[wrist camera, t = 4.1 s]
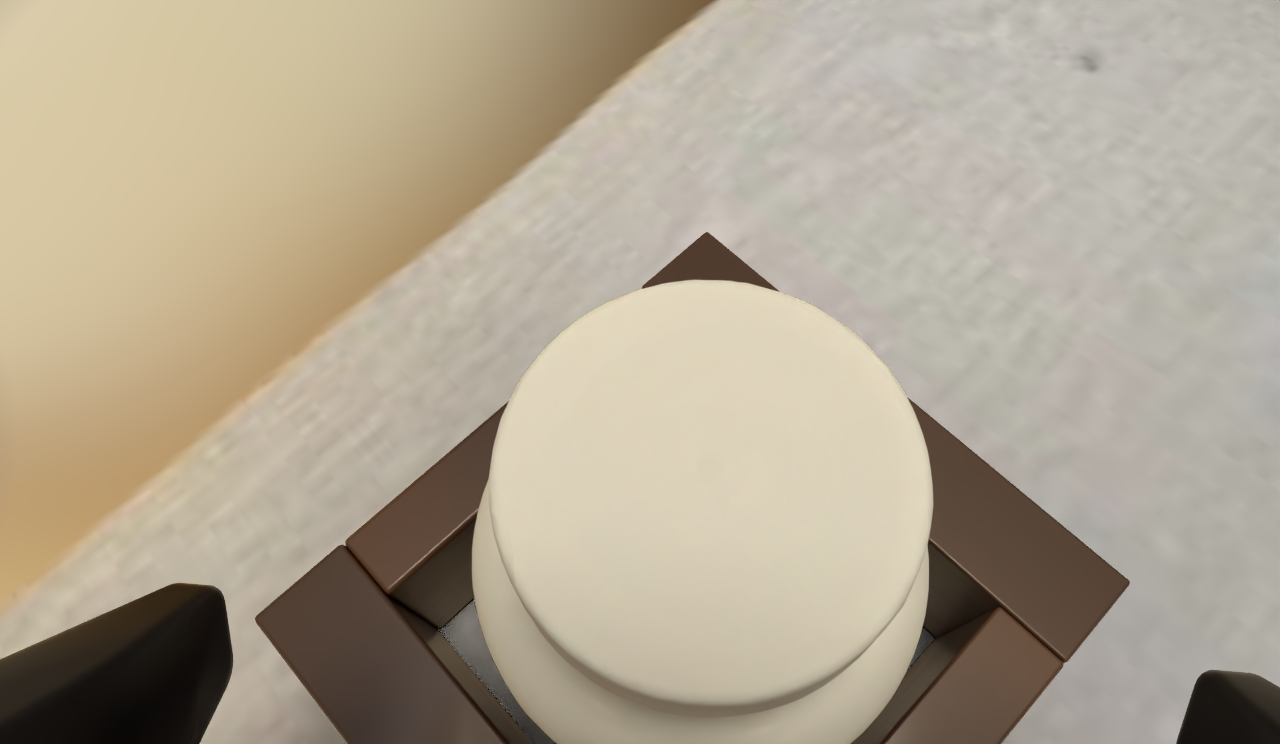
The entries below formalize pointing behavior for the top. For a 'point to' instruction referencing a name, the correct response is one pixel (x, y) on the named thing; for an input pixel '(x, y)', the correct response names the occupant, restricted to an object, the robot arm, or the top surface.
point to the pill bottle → (705, 525)
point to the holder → (491, 740)
